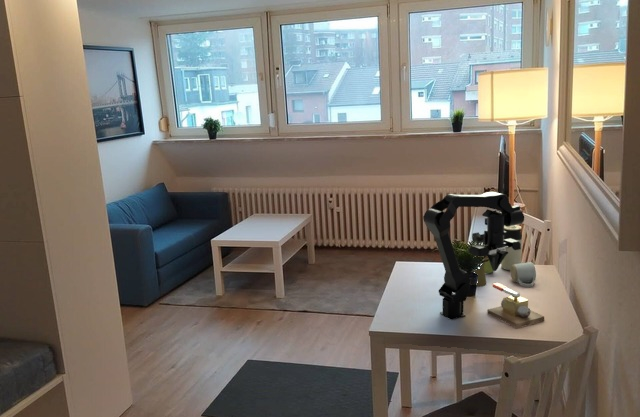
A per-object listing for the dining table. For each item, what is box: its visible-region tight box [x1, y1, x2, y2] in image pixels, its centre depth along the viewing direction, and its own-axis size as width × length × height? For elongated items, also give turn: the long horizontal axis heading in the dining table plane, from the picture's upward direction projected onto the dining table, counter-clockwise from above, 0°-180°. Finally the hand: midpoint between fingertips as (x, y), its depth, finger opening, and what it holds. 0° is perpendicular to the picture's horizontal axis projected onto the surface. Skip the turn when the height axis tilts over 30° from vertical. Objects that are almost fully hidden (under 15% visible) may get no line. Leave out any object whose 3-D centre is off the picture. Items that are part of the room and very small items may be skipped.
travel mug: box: [500, 225, 523, 271], centre depth 246 cm, size 8×8×18 cm
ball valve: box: [500, 295, 531, 318], centre depth 197 cm, size 6×10×6 cm, turn 25°
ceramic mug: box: [509, 261, 537, 288], centre depth 229 cm, size 11×8×8 cm
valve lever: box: [492, 282, 521, 298], centre depth 201 cm, size 12×3×1 cm, turn 21°
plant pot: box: [484, 261, 494, 274], centre depth 244 cm, size 9×9×9 cm
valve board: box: [486, 305, 545, 329], centre depth 198 cm, size 12×14×2 cm
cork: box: [474, 262, 487, 287], centre depth 230 cm, size 6×6×11 cm
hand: (494, 270), depth 206 cm, fingers closed
